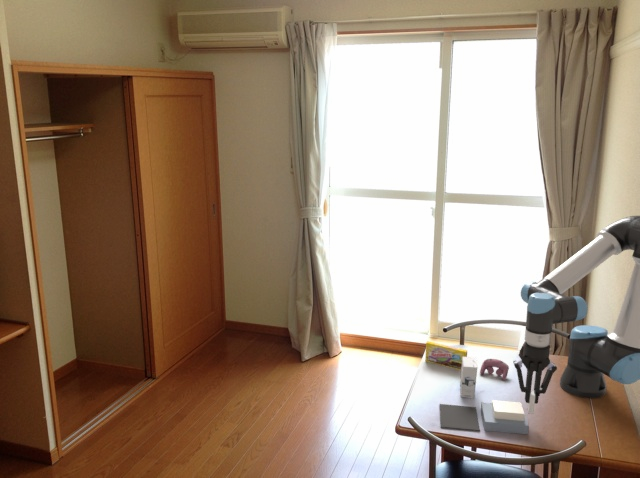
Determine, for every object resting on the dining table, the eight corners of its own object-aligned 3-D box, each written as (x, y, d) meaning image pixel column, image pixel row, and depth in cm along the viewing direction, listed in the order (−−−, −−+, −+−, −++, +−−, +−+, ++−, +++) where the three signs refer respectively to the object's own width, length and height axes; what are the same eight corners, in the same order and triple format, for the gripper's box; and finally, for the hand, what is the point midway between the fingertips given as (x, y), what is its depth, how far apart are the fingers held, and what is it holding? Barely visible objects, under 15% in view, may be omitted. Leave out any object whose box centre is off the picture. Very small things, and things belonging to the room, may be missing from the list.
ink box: (459, 385, 209) (461, 355, 206) (474, 386, 208) (476, 357, 205) (460, 397, 200) (462, 366, 198) (475, 398, 199) (477, 367, 197)
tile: (520, 409, 187) (520, 402, 186) (523, 421, 180) (524, 413, 180) (491, 406, 188) (492, 400, 188) (494, 418, 182) (494, 411, 181)
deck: (521, 413, 190) (522, 405, 189) (527, 434, 178) (528, 425, 178) (480, 410, 192) (481, 402, 191) (484, 430, 181) (485, 421, 180)
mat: (475, 408, 193) (476, 407, 193) (479, 431, 180) (479, 430, 180) (439, 405, 195) (439, 403, 195) (440, 427, 182) (440, 426, 182)
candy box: (424, 361, 228) (425, 342, 226) (426, 359, 229) (427, 340, 227) (464, 371, 219) (466, 351, 217) (466, 369, 221) (467, 349, 219)
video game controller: (507, 381, 215) (511, 362, 216) (505, 380, 211) (508, 361, 212) (481, 374, 220) (484, 356, 221) (478, 374, 216) (482, 355, 217)
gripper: (517, 346, 174) (510, 416, 180) (562, 349, 172) (554, 419, 178) (513, 336, 182) (507, 403, 187) (556, 339, 180) (549, 407, 185)
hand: (530, 411), depth 183 cm, fingers closed
